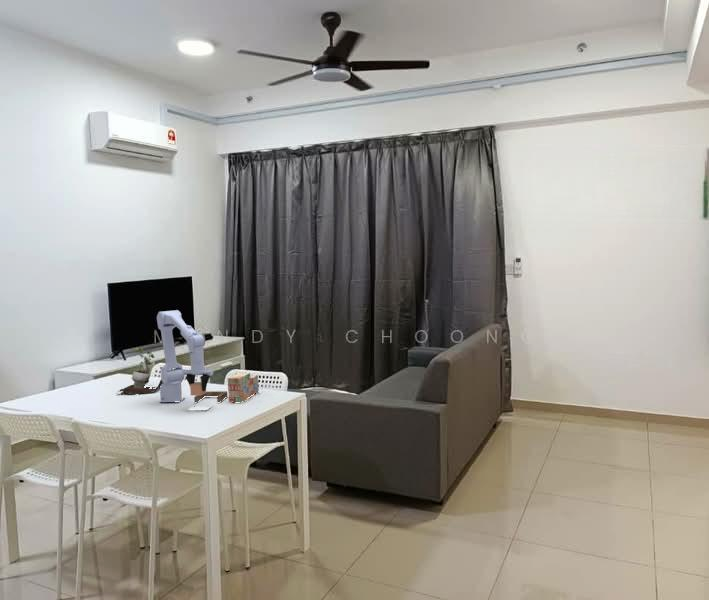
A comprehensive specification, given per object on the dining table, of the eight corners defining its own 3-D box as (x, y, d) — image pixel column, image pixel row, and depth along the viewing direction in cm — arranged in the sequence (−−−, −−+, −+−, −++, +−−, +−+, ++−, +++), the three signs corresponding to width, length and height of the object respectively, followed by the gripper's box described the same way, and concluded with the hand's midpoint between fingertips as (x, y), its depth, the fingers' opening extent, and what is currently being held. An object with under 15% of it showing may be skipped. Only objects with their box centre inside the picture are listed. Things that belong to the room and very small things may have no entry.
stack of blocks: (247, 392, 284) (246, 368, 283) (259, 392, 283) (258, 368, 282) (228, 403, 264) (227, 377, 263) (240, 403, 262) (239, 377, 261)
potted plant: (129, 391, 304) (141, 347, 307) (162, 399, 305) (174, 354, 307) (114, 394, 285) (127, 346, 287) (150, 402, 285) (163, 354, 288)
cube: (190, 395, 252) (190, 384, 251) (196, 392, 256) (195, 382, 256) (200, 395, 250) (200, 384, 250) (206, 392, 255) (205, 382, 255)
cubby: (194, 403, 265) (194, 397, 264) (203, 397, 276) (202, 391, 276) (219, 403, 263) (219, 396, 263) (227, 397, 275) (227, 391, 274)
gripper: (215, 359, 255) (217, 388, 256) (187, 359, 258) (188, 388, 259) (208, 362, 248) (209, 392, 249) (179, 362, 251) (180, 391, 252)
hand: (198, 390), depth 254 cm, fingers closed on cube, 5 cm apart
